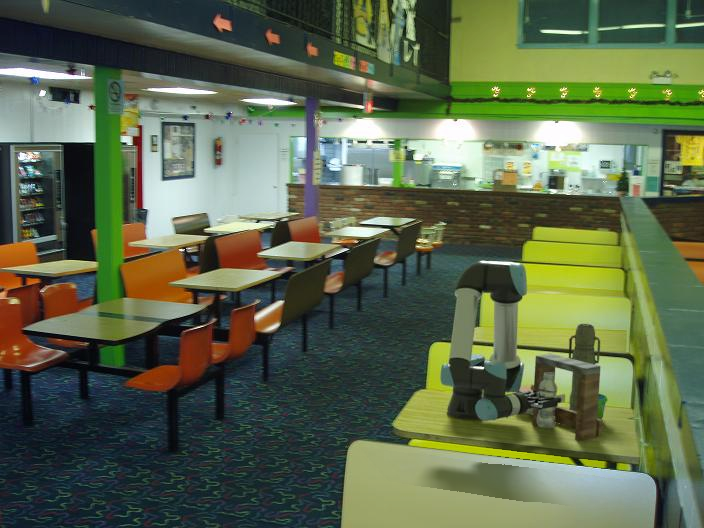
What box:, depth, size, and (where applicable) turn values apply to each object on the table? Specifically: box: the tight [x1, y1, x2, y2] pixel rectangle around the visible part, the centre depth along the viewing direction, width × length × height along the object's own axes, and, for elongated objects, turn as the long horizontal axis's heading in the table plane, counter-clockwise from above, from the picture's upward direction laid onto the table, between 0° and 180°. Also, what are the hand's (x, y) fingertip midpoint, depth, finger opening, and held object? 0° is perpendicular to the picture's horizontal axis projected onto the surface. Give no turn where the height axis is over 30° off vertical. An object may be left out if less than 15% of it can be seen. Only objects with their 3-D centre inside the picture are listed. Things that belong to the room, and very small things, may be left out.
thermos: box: [568, 323, 601, 412], centre depth 323 cm, size 9×12×35 cm
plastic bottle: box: [537, 372, 558, 429], centre depth 290 cm, size 6×7×20 cm
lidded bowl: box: [515, 384, 534, 415], centre depth 320 cm, size 13×13×11 cm
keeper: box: [531, 353, 604, 442], centre depth 297 cm, size 23×12×26 cm, turn 36°
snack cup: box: [597, 393, 608, 420], centre depth 310 cm, size 16×10×10 cm
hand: (556, 395), depth 293 cm, fingers closed on plastic bottle, 6 cm apart
